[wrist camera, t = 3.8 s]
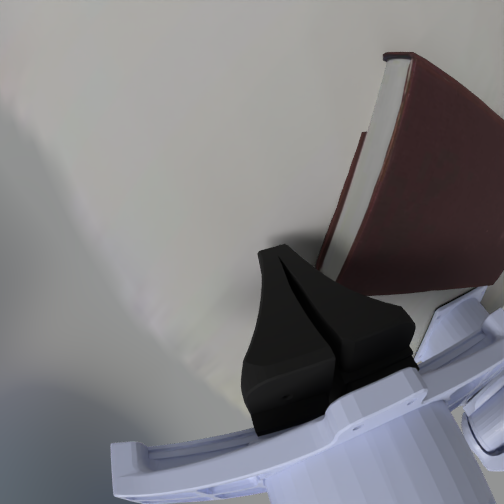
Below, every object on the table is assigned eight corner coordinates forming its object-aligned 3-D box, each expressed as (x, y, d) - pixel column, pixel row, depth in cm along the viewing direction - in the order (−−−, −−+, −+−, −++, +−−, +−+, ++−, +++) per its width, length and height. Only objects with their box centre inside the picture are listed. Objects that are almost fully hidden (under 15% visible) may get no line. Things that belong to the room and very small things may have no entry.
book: (377, 46, 11) (424, 50, 8) (528, 153, 16) (554, 170, 14) (306, 263, 17) (328, 302, 15) (474, 268, 23) (494, 289, 21)
